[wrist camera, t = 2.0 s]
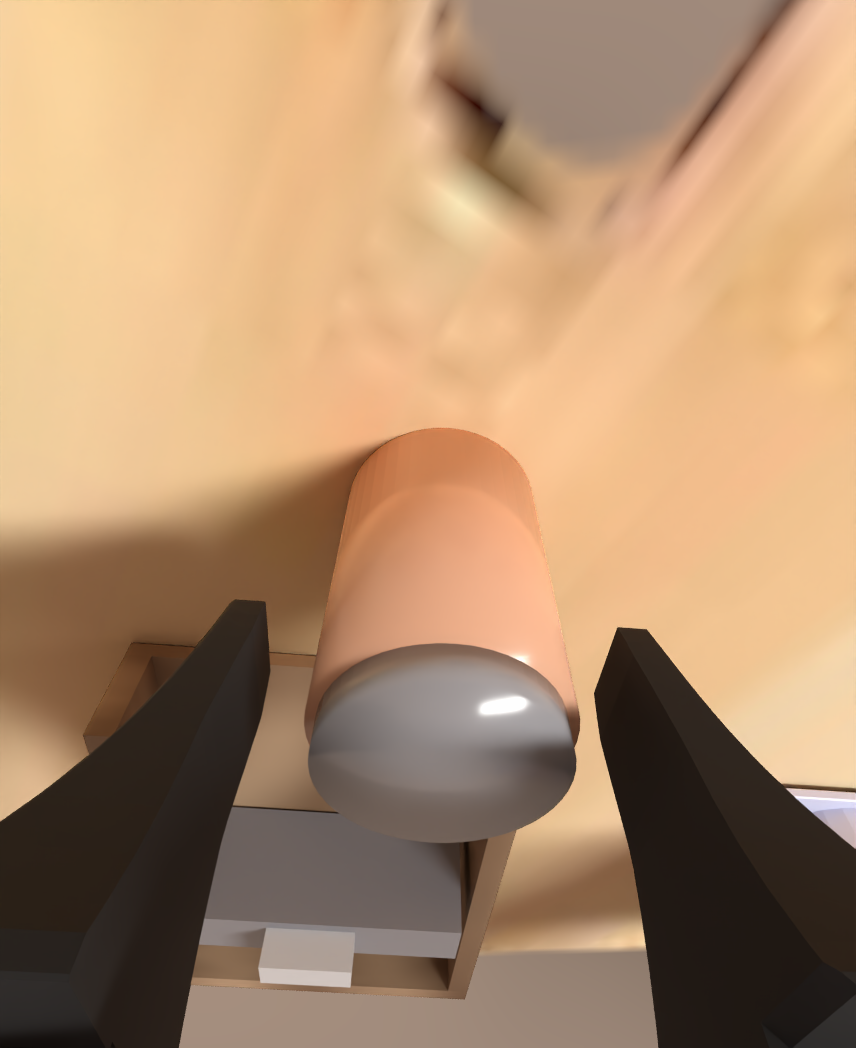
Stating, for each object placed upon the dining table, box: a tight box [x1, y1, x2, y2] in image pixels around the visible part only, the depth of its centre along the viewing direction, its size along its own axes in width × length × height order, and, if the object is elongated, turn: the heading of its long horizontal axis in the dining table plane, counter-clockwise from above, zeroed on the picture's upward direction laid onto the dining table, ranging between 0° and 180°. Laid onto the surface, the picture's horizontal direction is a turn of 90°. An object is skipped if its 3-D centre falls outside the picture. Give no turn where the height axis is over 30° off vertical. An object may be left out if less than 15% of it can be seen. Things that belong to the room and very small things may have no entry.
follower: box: [199, 807, 462, 988], centre depth 24 cm, size 10×2×5 cm, turn 85°
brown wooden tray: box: [83, 643, 516, 999], centre depth 25 cm, size 13×17×4 cm
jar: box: [304, 428, 580, 843], centre depth 15 cm, size 5×5×8 cm
